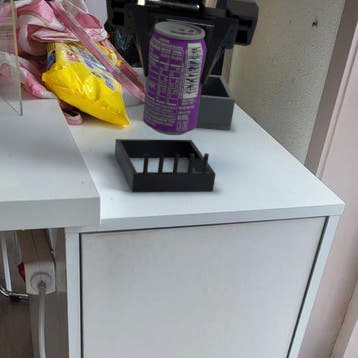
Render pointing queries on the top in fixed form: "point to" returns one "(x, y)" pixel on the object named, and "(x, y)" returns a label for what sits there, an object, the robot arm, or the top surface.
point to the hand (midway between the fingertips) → (174, 79)
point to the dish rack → (160, 179)
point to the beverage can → (174, 77)
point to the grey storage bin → (215, 104)
